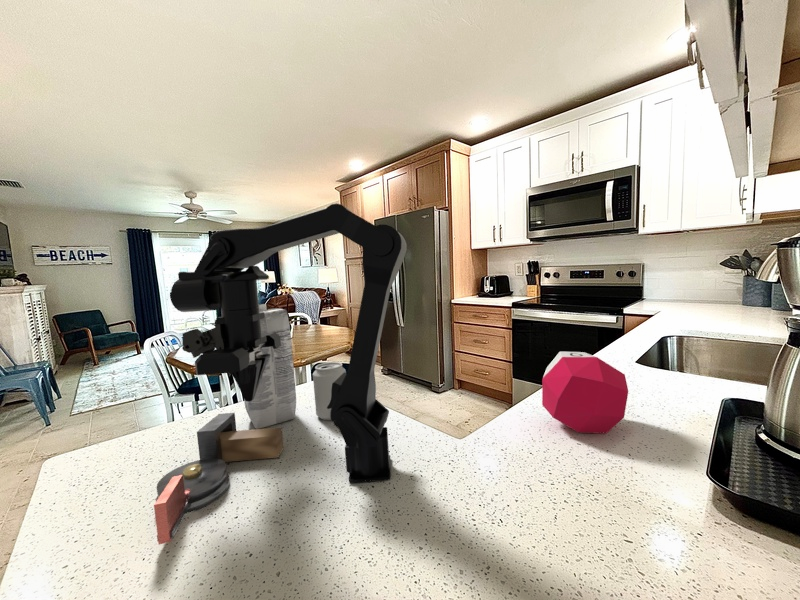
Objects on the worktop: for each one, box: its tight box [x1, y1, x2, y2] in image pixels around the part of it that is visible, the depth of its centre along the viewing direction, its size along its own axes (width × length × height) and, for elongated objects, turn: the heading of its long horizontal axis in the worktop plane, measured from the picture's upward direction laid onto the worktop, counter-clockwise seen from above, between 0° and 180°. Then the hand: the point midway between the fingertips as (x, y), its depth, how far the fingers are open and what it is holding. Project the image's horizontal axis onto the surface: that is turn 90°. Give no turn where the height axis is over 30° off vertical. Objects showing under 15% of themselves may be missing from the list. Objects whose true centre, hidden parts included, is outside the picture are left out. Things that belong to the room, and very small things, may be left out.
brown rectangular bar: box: [220, 426, 285, 463], centre depth 61 cm, size 14×4×4 cm, turn 93°
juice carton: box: [243, 303, 297, 429], centre depth 76 cm, size 9×10×27 cm
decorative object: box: [541, 351, 629, 435], centre depth 64 cm, size 15×15×15 cm
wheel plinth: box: [155, 471, 231, 515], centre depth 51 cm, size 10×10×1 cm
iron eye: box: [196, 412, 237, 460], centre depth 60 cm, size 3×8×7 cm, turn 2°
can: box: [312, 361, 347, 421], centre depth 77 cm, size 8×8×12 cm
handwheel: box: [153, 458, 228, 545], centre depth 47 cm, size 16×9×5 cm, turn 17°
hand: (249, 400), depth 56 cm, fingers closed
